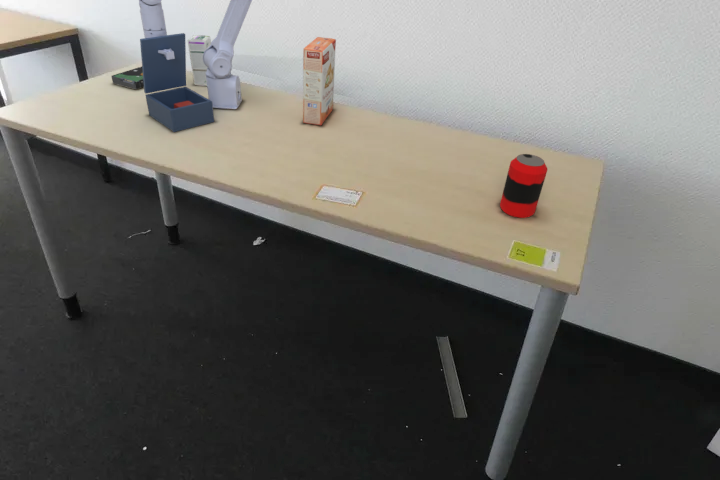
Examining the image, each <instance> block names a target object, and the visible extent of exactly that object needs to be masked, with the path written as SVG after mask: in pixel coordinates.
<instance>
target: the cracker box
mask: <svg viewBox="0 0 720 480" xmlns="http://www.w3.org/2000/svg"><path fill="white" fill-rule="evenodd" d="M336 41H337V40H336V38H331V37H322V36H316V37H315V39H313V40H312V41H310V42H309V43H308V44H307V45H306V46H305V47H303V50H302V51H303V53H302V54H303V55H302V67H303V68H302V74H303V75H302V123H303V124H307V125H308V124H309V125H316V126H322V125H323V123H325V121H326V119H327V118H328V117H329V115H330V114H331V112H332V111H333V110H334V97H335V96H334V93H335V70H336V69H335V66H336V46H337V45H336V44H337V42H336Z"/></svg>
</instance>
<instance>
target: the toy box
mask: <svg viewBox="0 0 720 480" xmlns="http://www.w3.org/2000/svg"><path fill="white" fill-rule="evenodd" d="M145 101H146V106H147V111H148V116H149V117H151V118H153V119H154V120H155V121H157V122H158V123H159V124H161V125H163V126H164V127H166V128H167V129H169V130H170V131H171V132H173V133H177V132H180V131H184V130H189V129H192V128H195V127H199V126H204V125H208V124H211V123H214V122H215V117H214V108H213V106H212V101H211V100H209V98H207V97H206V96H203V95H201V94H200V93H198V92H196V91H195V90H193V89H191V88H189V87H188V86H182V87H177V88H172V89H167V90H162V91H157V92H152V93H147V94H145ZM184 101H190V102H192V103H193V104H192V105H188V106H183V107H179V108H175V109H174V104H175V103H180V102H184Z"/></svg>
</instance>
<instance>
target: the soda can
mask: <svg viewBox="0 0 720 480" xmlns="http://www.w3.org/2000/svg"><path fill="white" fill-rule="evenodd" d="M547 173H548V167H547V165H546V162H545V160H544V159H543V158H542V157H540V156H538V155H534V154H530V153H521V154H518V155H517V156H516V157H514V158H513V159H512V160H511V161H510V162H509V166H508V171H507V175H506V179H505V183H504V187H503V190H502V195H501V199H500V203H499V207H500V209H501V210H502V211H503V212H504V213H505V214H506V215H508V216H511V217H514V218H519V219H527V218H530V217H532V216H533V215H535V213H536V210H537V206H538V204H539V200H540V196H541V193H542V190H543V187H544V184H545V183H544V182H545V180H546V176H547Z"/></svg>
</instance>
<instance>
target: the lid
mask: <svg viewBox="0 0 720 480" xmlns="http://www.w3.org/2000/svg"><path fill="white" fill-rule="evenodd" d="M139 43H140V45H139V46H140V56H141V67H142V70H143V82H144V87H143V92H144V94H145V95H146V94H151V93H156V92H161V91H166V90H171V89H176V88H181V87H187V58H186V57H187V55H186V53H187V52H186V51H187V50H186V33H184V32H182V33H174V34H173V33H172V34H167V35H166V36H158V37H151V38H145V37H144V38H140V39H139ZM170 48H171V50H172V51H174V57H175V59H170V60H167V59H166V57H164V54H161V53H158V50H164V49H170Z"/></svg>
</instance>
